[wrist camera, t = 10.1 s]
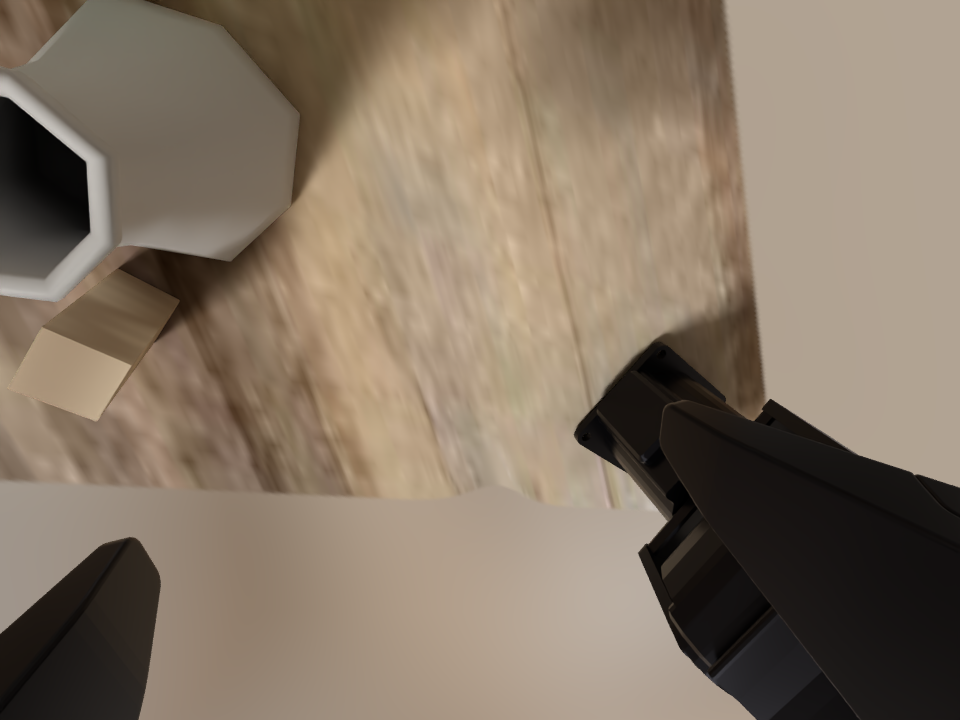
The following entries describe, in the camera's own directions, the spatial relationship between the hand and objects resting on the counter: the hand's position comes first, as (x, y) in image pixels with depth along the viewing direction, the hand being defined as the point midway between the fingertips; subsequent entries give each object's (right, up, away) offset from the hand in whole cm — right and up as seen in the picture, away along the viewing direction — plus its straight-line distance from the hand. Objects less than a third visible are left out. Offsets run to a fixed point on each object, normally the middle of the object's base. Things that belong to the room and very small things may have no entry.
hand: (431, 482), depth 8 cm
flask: (-9, +9, +7) cm, 14 cm away
